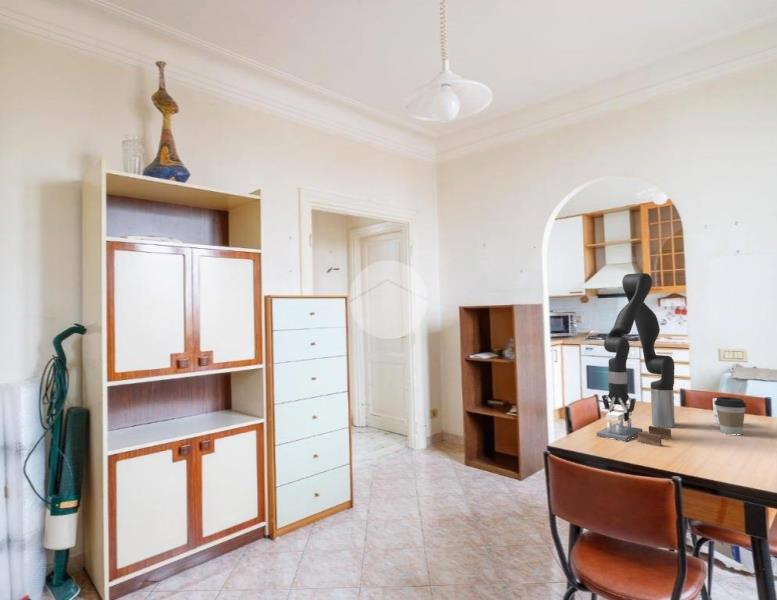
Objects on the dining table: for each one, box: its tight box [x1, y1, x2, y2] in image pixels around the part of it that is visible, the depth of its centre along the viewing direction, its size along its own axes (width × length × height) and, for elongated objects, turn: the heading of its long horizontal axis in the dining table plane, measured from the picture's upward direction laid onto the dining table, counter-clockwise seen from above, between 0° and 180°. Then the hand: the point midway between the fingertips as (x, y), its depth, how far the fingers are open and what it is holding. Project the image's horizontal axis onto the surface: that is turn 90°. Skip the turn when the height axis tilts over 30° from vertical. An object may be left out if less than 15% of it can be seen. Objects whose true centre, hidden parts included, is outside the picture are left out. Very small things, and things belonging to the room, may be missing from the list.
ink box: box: [712, 397, 720, 425], centre depth 206 cm, size 9×5×12 cm, turn 179°
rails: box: [637, 425, 672, 447], centre depth 184 cm, size 15×8×4 cm, turn 132°
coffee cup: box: [714, 396, 747, 436], centre depth 193 cm, size 11×11×15 cm
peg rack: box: [596, 417, 643, 442], centre depth 195 cm, size 20×12×6 cm, turn 132°
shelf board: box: [605, 407, 633, 422], centre depth 195 cm, size 16×5×2 cm, turn 132°
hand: (619, 419), depth 195 cm, fingers closed on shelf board, 5 cm apart
